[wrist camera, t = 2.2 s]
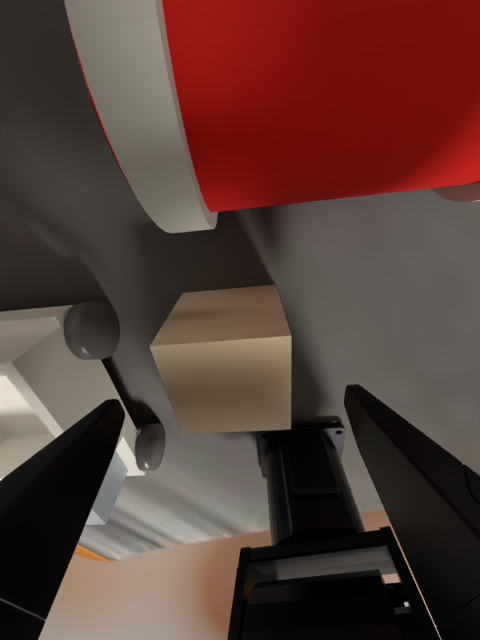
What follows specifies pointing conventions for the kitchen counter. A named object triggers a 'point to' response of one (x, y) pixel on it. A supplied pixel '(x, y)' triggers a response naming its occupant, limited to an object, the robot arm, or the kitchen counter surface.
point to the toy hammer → (282, 100)
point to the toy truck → (65, 390)
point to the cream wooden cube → (227, 361)
